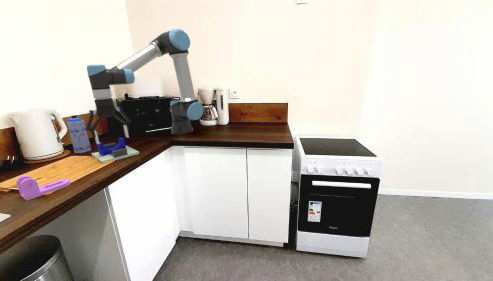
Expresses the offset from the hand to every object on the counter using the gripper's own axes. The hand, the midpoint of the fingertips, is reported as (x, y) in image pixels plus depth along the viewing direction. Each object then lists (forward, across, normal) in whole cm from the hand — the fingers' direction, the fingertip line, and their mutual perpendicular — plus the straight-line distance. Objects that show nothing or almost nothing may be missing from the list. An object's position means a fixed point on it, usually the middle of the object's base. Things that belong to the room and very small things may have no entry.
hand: (113, 140), depth 111 cm
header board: (+8, 0, 0) cm, 8 cm away
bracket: (+8, +29, +23) cm, 38 cm away
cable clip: (+7, +1, -2) cm, 7 cm away
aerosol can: (+8, +10, -24) cm, 27 cm away
